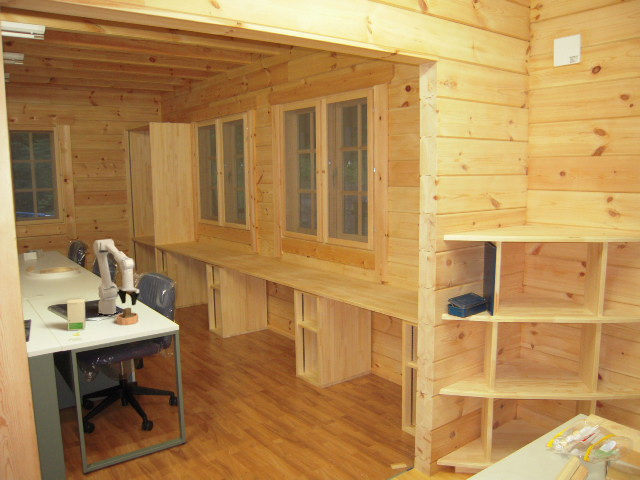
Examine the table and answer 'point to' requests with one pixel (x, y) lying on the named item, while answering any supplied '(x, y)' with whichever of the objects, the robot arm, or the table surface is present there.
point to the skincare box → (76, 314)
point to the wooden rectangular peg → (126, 312)
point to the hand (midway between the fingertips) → (128, 304)
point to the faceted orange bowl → (127, 319)
